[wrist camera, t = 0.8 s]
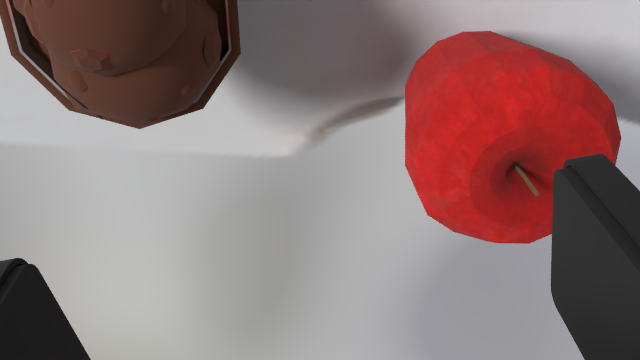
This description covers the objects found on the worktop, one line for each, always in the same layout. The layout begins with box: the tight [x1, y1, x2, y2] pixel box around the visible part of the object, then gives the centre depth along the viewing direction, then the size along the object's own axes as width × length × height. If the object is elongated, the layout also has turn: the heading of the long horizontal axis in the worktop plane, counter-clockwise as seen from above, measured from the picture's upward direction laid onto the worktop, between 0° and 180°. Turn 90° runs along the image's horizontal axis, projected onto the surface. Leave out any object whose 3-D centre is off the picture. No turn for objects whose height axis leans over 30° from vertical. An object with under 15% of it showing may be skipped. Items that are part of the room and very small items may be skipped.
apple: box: [405, 31, 621, 243], centre depth 32 cm, size 11×10×14 cm
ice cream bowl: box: [0, 0, 241, 129], centre depth 28 cm, size 11×11×15 cm
